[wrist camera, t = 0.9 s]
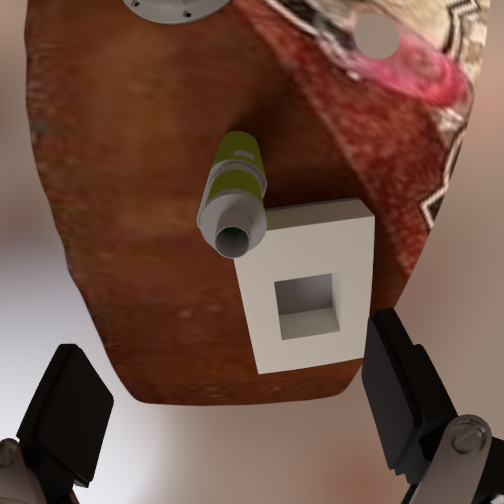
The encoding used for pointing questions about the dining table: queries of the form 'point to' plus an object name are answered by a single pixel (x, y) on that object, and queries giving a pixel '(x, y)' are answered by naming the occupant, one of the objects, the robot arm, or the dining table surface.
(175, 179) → the dining table surface
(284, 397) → the dining table surface
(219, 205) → the vape
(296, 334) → the charging dock
